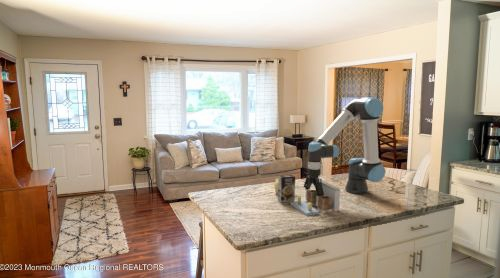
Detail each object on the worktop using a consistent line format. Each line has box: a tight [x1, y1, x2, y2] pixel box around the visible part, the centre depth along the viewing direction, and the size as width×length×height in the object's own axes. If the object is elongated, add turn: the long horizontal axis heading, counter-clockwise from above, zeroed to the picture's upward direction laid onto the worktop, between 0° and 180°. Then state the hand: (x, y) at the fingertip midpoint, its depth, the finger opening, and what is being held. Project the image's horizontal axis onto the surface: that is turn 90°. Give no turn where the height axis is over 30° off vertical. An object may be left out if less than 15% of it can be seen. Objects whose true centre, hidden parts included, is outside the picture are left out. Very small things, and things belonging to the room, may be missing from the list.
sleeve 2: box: [317, 196, 333, 214], centre depth 191 cm, size 6×6×8 cm
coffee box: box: [277, 174, 296, 204], centre depth 208 cm, size 9×6×16 cm
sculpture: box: [273, 178, 278, 194], centre depth 225 cm, size 11×12×11 cm
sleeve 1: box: [306, 189, 317, 207], centre depth 203 cm, size 6×6×8 cm
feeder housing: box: [322, 180, 341, 212], centre depth 198 cm, size 3×18×13 cm, turn 19°
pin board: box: [289, 195, 320, 217], centre depth 194 cm, size 8×20×6 cm, turn 19°
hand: (312, 202), depth 203 cm, fingers open, 12 cm apart
